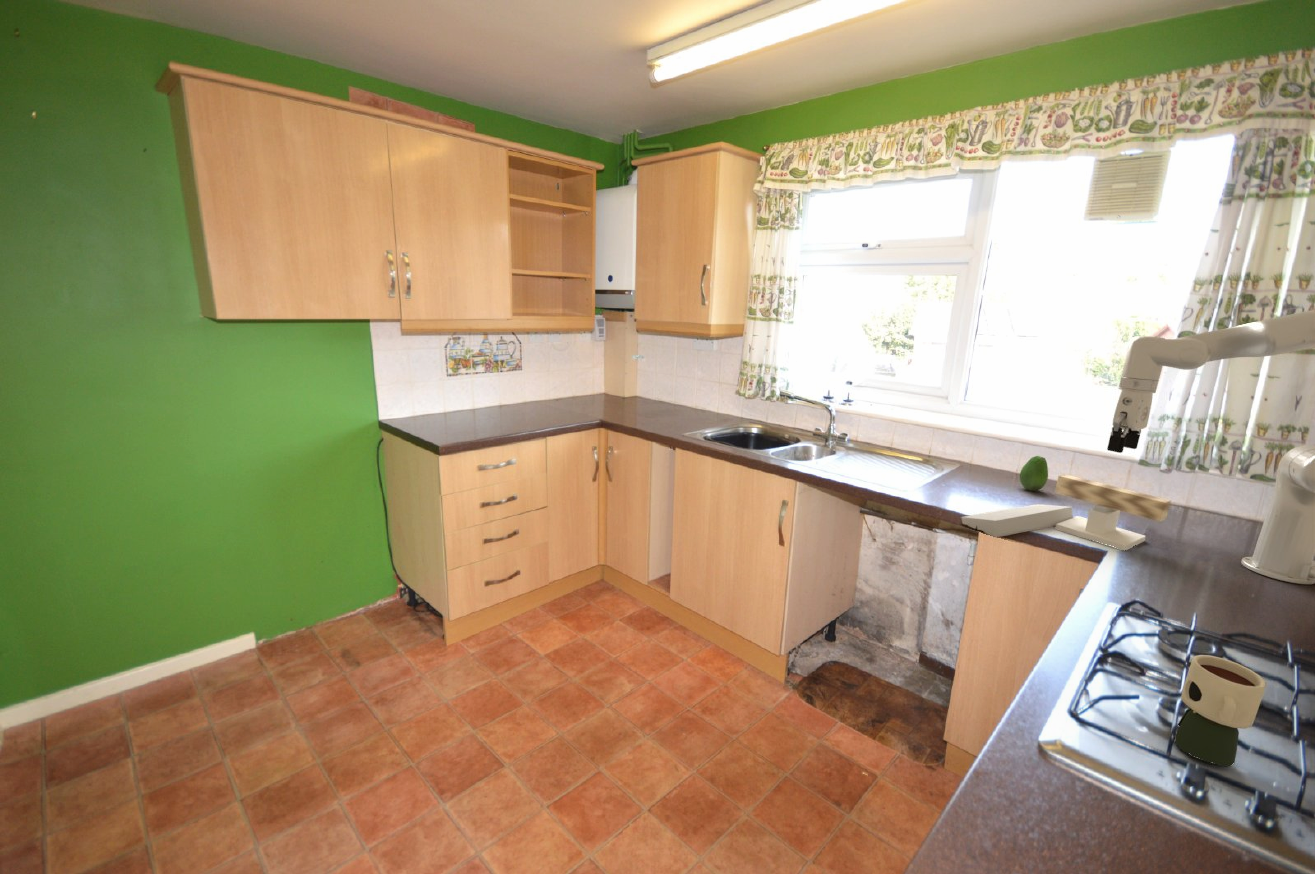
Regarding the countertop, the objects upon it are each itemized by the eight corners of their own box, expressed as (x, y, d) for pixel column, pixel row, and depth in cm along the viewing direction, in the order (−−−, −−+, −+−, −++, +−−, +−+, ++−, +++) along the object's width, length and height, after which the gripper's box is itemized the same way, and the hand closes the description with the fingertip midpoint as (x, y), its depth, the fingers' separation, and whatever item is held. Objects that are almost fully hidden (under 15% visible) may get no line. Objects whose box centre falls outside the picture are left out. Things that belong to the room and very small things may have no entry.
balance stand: (1144, 541, 155) (1152, 510, 152) (1124, 551, 147) (1133, 519, 145) (1076, 520, 167) (1083, 492, 165) (1055, 528, 160) (1062, 499, 158)
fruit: (1011, 486, 197) (1018, 453, 194) (1028, 485, 200) (1036, 452, 197) (1032, 494, 190) (1040, 459, 187) (1050, 493, 192) (1058, 458, 189)
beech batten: (1165, 519, 146) (1171, 500, 145) (1160, 521, 144) (1165, 502, 143) (1060, 490, 166) (1064, 474, 165) (1054, 492, 164) (1058, 475, 162)
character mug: (1163, 719, 85) (1187, 641, 82) (1229, 742, 81) (1257, 662, 78) (1170, 763, 76) (1198, 679, 73) (1244, 792, 72) (1277, 704, 69)
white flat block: (962, 534, 160) (996, 538, 151) (961, 516, 160) (995, 520, 151) (1037, 519, 175) (1073, 523, 166) (1036, 504, 175) (1072, 506, 166)
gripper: (1143, 389, 140) (1126, 456, 144) (1168, 386, 149) (1151, 449, 153) (1107, 384, 146) (1091, 449, 150) (1132, 381, 155) (1117, 443, 159)
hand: (1121, 449), depth 151 cm, fingers open, 9 cm apart
